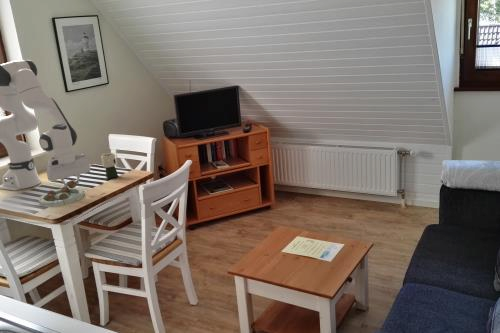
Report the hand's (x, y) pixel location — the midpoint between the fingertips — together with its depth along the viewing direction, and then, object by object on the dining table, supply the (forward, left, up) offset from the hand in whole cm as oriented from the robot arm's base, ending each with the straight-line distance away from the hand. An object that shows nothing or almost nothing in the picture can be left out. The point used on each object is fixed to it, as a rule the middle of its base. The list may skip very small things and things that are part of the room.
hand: (71, 184), depth 255 cm
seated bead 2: (-6, -10, -5) cm, 13 cm away
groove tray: (-4, -4, -6) cm, 8 cm away
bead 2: (0, 0, -2) cm, 2 cm away
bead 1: (-6, +1, -5) cm, 8 cm away
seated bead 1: (-10, -4, -5) cm, 12 cm away
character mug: (+2, +30, -7) cm, 31 cm away
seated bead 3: (+1, -8, -5) cm, 10 cm away
